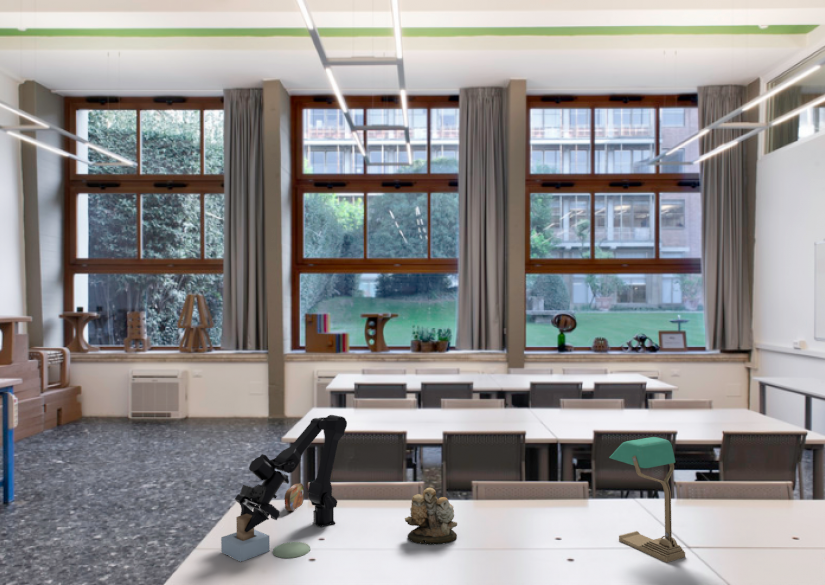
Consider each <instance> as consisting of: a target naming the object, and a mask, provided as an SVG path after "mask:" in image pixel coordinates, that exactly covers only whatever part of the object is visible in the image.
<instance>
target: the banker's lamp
mask: <svg viewBox="0 0 825 585" xmlns="http://www.w3.org/2000/svg"><path fill="white" fill-rule="evenodd" d="M609 459H612V460H615V461H618V462H622V463H625V464H628V465H631V466H634V468H635V469H634V470H635V472H636V475H638V476H639V477H641V478H644V479H647V480H651V481H654V482H658V483H660V484H661V485H662V488H663V493H664V535H663V536H661V537H659V538H653V539H652V538H650V537H648V536H645V535H644V534H641V533H640V531H638V530H634V531H632V532H628V533H624V534H620V535H618V541H619V542H620V543H623V544H625V545H627V546H629V547H631V548H634V549H636V550H639V551H641V552H643V553H645V554H647V555H649V556H652V557H654V558H656V559H658V560H660V561H662V562H664V563H670V562H672V561H677V560H679V559H684V558H686V551H685V550H684V548H682V546H681V545H680V544H678V543H677V540H676V539H675V538H674V537H673V535H672V534H673V533H672V531H673V530H672V493H671V488H670V484H669V479H670V478H671V476H672V473H673V472H674V470H675V465H674V464H675V463H676V458H675V453H674V450H673V446H672V442H670V441H669V440H668V439H665V438H661V437H658V436H657V437H656V436H651V437H646V438H639V439H632V440H627V441H624V442H622V443H621V444H620V445H619V446H618V447H617V448H616V449H615V450H614V452H613V453H612V454H611V455H610V456H609ZM664 465H665V466H666V465H669V471H668V472H667V474H666V476H665V477H664V479H663V480H661V479H658V478H655V477H652V476H650V475H647V474H644V473H642V472H641V469H650V468H655V467H660V466H664ZM638 476H637V477H638Z"/></svg>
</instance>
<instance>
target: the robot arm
mask: <svg viewBox="0 0 825 585" xmlns="http://www.w3.org/2000/svg"><path fill="white" fill-rule="evenodd" d="M309 422H310V423H309V424H308V425H307V426H306V427H305V429H304V430H303V431H302V432H301V433H300V434H299V436H298V437H297V438H296V439H295V440H294V442H293V443H292V444H291V445H290V446H289V447H287V448H285V449H283V450H282V451H280V453H278V454H277V455H276V456H275V458H271V459H270V458H269V457H268V456H267V455H266V454H263V453H262V454H260V456H258V457H256V458H254V460H252V461H251V462H250V464H249V467H248V468H249V471H250V472H251V473H252V474H253V475H254V476H255V477H257V478H258V479H259V480H260V481H263V482H262V483H261V484H257V485H254V487H253V486H250V485H247V484H242V486H241V490H240V492H239V494H237V495H236V496H235V498H234V501H236V502H237V503H238V504H239V506H240V508H241V511H240V515H239V516H241V515H244V514H249V515H252V517H251V519H250V521H249V522H248V524H247V526H246V528H245V530H244V531H245V532H248V531H249V530H251V529H252V528H254V529H255V527H257V526H259V525H261V524H262V523H263V522H266V521H268V520H270V519H272V520H274V521H278V519H279V517H280V510H279V509H278V508H276V507H275V505H273V504H271V502H272V500H273V499H274V500H275V499H276V498H277V497H278V496H277V495H276V494H277V492H278V491H279V489H280V488H281V487H282V485H283V484H284V483H285V484H290V480H289V475H288V474H292V473H293V472H295V471H296V470H297V467H298V466H299V465H300V463H301V460H302V459H301V458H302V456H303V454H304V453H305V451H306V450H307V449H308V448H309V447H310V445H311V444H312V443H313V442H314V440H315V439H316V438H317V437H318V436H319V434H320V433H321V432H322V431H323V433H324V434H323V435H324V437H325V439H324V444H323V447H322V448H323V449H322V452H321V456H320V457H321V458H320V462H319V466H318V471H317V475H316V478H315V479H314V480H313V481H310V482H309V485H308V490H307V497H308V500H309V501H310V503H311V506H314V510H313V514H312V515H313V520H312V521H313V522H314V524H315V525H316V526H317V527H319V528H321V527H324V526H326V527H327V526H330V525H335V524H336V521H335V520H334V518H335V516H334V511H335V510H334V508H336V507H338V506H337V505H338V500H337V499H336V498H335V497H334V496H333V488H332V487H333V486H332V482H331V479H332V478H331V477H332V472H333V467H334V464H335V459H336V454H337V451H338V450H337V449H338V445H339V441H340V439H341V438H342V437H343V436H344V434H345V432H346V429H347V426H348V422H347V420H346V417H344V416H341V415H336V414H335V415H334V414H329V415H328V416H325V417H314V418H312V419H311V420H310V421H309ZM282 472H283V473H288V474H283V473H282ZM269 516H270V517H269Z"/></svg>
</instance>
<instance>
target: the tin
mask: <svg viewBox="0 0 825 585" xmlns="http://www.w3.org/2000/svg"><path fill="white" fill-rule="evenodd" d="M283 500H284V508H285V510H286V511H288V512H295V511H296V510H297V509H298V508H299V507H300V506H301V505H302V504H303V503H304V501H305V486H304V484H303V483H302V482H301V483H294V484H293V485H292V486H290V488H288V489H287V490H286V491H285V494H284V499H283ZM297 507H298V508H297ZM296 508H297V509H296ZM295 509H296V510H295ZM294 510H295V511H294Z"/></svg>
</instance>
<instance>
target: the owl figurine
mask: <svg viewBox="0 0 825 585" xmlns="http://www.w3.org/2000/svg"><path fill="white" fill-rule="evenodd" d="M409 509H410V516H409V515H408V516H407V517H405V518H404V520H405V523H407V525H409V526H410V527H411V526H412V527H415V528H413V529H412V530H411V531H410V532H408V533H407V538H408V540H409V541H410V542H412V543H414V544H418V545H419V544H421V545H423V544H425V545H427V544H428V545H429V546H433V545H434V544H436V545H443V543H445V544H448V543H452V542H453V541H456V540H457V537H458V534H457V533H456V532H455V531H454V530H453V529H454V528H456V527H457V526H458V522H457V521H453V520H454V518H455V514H454V513H455V510H454V505H452V504H451V503H450V502H449V500H448V498H447V497H445V496H443V497H442V496H441V497H439V498H438V497H437V493H436V490H435V489H434V488H433V487H426V488H425V489H424V490H423V492H422V494H420V493H417V494H415V495H413V496H412V498H411V507H410V508H409Z"/></svg>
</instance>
